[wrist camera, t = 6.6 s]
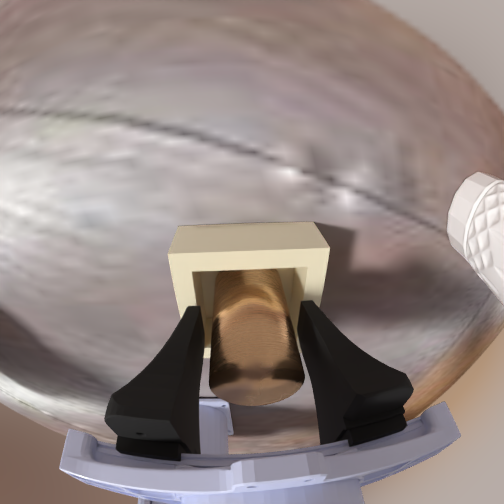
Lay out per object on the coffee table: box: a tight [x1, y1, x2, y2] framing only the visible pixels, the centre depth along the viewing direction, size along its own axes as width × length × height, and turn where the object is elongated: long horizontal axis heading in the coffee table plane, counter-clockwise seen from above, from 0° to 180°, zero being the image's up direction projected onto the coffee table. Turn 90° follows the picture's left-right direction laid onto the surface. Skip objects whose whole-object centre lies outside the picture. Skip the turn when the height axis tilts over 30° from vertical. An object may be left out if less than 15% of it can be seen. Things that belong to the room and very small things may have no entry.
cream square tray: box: [168, 222, 330, 358], centre depth 15 cm, size 8×8×3 cm
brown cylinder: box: [209, 268, 305, 406], centre depth 13 cm, size 4×4×7 cm
